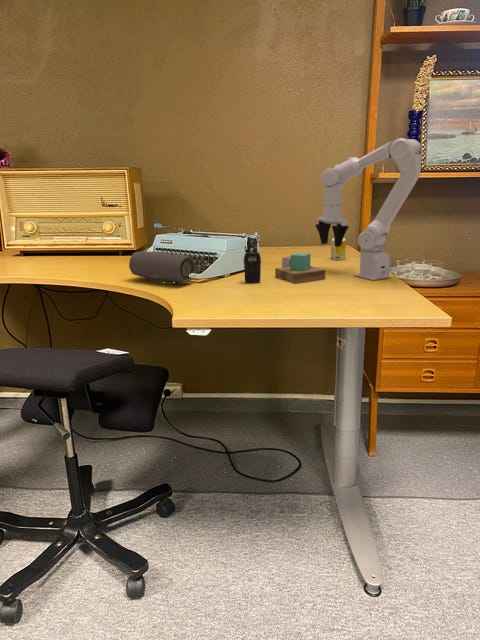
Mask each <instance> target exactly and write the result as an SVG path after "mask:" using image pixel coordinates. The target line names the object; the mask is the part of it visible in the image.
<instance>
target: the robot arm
mask: <svg viewBox="0 0 480 640" xmlns="http://www.w3.org/2000/svg"><path fill="white" fill-rule="evenodd" d="M423 154H424V151H423V148H422V145H421V143H420V142H419V141H418V140H417V139H413V138H403V137H400V138H397V139H395V140H393V141H388V142H387V143H385V144H383V145H382V146H380V147H378V148H376V149H375V150H373V151H371V152H369V153H367V154H366V155H363V156H361V157H360V158H358V157H356V156H353V157H352V156H349V157H347V158H346V161H343V162H342V163H336V164H334V166H333V167H334V168H333V167H327V168H326V169H325V170H324V171H323V172H322V174H321V178H320V179H321V182H322V184H323V215H322V216H317V217H316V223H315V228H316V229H317V232H318V235H319V239H320V244H321V245H327V244H328V242H329V241H328V240H329V232H330V230H331V229H332V232H333V238H334V243H335V247H338V246H341V244H342V240H343V237H344V238H345V234H346V232H347V231H348V229H349V225H348V222H349V220H348V219H345V218H343V217H341V209H342V207H341V206H342V188H343V187H342V186H343V184H344V182H347V181H348V180H351V179H352V178H355V177H357V176H359V175H361V174H362V173H363V170H364V168H367V167H369V166H371V165H374V164H376V163H378V162H380V161H381V162H382V161H383V160H385V159H392V160H393V161H394V163H395V164H396V165H397V167H398V170H399V171H398V172H399V174H400V175H399V176H398V178H397V180H396V182H395V184H394V185H393V187H392V189H391V190H390V192H389V194H388V196H387V197H386V198H385V200H384V203H383V204H382V206H381V207H380V209H379V211H378V213H377V215H376V216H375V218H374V220H373V221H372V222H370V223H369V224H368V225H367V227H366V229H364V231H362V232H361V233H359V235H358V236H357V243H358V246H359V247H360V258H359V259H360V260H359V272H358V273H357V272H356V273H354V274H353V276H355V277H356V276H357V277H359V278H364V279H367V280H372V281H376V280H383V279H387V278H388V279H389V278H392V275H390V270H391V269H390V267H391V258H390V254H389V253H387V252H386V251H384V245H385V244H386V242H387V240H388V234H389V232H390V230H391V228H390V227H391V225H392V222H393V221H394V219H395V217H397V214H398V213H399V211H400V209H401V208H402V206H403V204H404V203H405V202H406V200H407V198H408V196H409V195H410V193H411V191H412V190H413V188H414V187H415V185H416V183H417V181H418V180H419V178H420V176H421V172H422V171H421V170H422V158H423Z"/></svg>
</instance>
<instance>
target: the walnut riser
mask: <svg viewBox="0 0 480 640" xmlns="http://www.w3.org/2000/svg"><path fill="white" fill-rule="evenodd" d="M274 269H275V270H274V271H275V273H274V275H275V276H274V277H275V278H277V279H280V280H283V281H286V282H290V283H293V284H303V283H308V282H315V281H321V280H322V281H323V280H325V279H326V272H327V271H326V269H323V268H319V267H314V266H311V265H310V269H308V270H306V271H297V270H291V266H290V267H283V268H282V267H276V268H274Z"/></svg>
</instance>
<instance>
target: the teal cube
mask: <svg viewBox="0 0 480 640" xmlns="http://www.w3.org/2000/svg"><path fill="white" fill-rule="evenodd" d="M290 257H291V270H297V271H306V270H308V269H310V266H311V253H304V252H295V253H293V254H290Z"/></svg>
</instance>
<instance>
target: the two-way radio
mask: <svg viewBox="0 0 480 640" xmlns="http://www.w3.org/2000/svg"><path fill="white" fill-rule="evenodd" d="M261 258H262V257H261V255H260V252H259V251H258V247H254V248H253V251H251V237H250V236H249V235H248V236H247V237H246V252H245V253H244V256H243V265H244V266H243V268H244V269H243V272H244V282H245V283H247V284H252V283H255V284H258V283H260V282H261V270H262V268H261V267H262V266H261V265H262V261H261V260H262V259H261Z"/></svg>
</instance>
